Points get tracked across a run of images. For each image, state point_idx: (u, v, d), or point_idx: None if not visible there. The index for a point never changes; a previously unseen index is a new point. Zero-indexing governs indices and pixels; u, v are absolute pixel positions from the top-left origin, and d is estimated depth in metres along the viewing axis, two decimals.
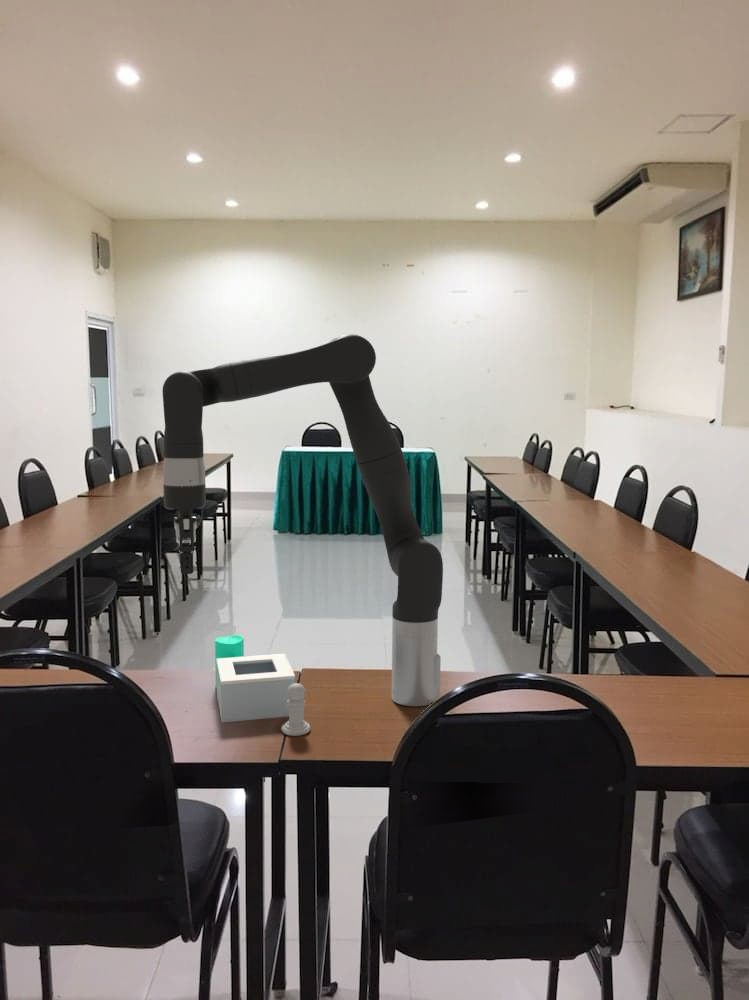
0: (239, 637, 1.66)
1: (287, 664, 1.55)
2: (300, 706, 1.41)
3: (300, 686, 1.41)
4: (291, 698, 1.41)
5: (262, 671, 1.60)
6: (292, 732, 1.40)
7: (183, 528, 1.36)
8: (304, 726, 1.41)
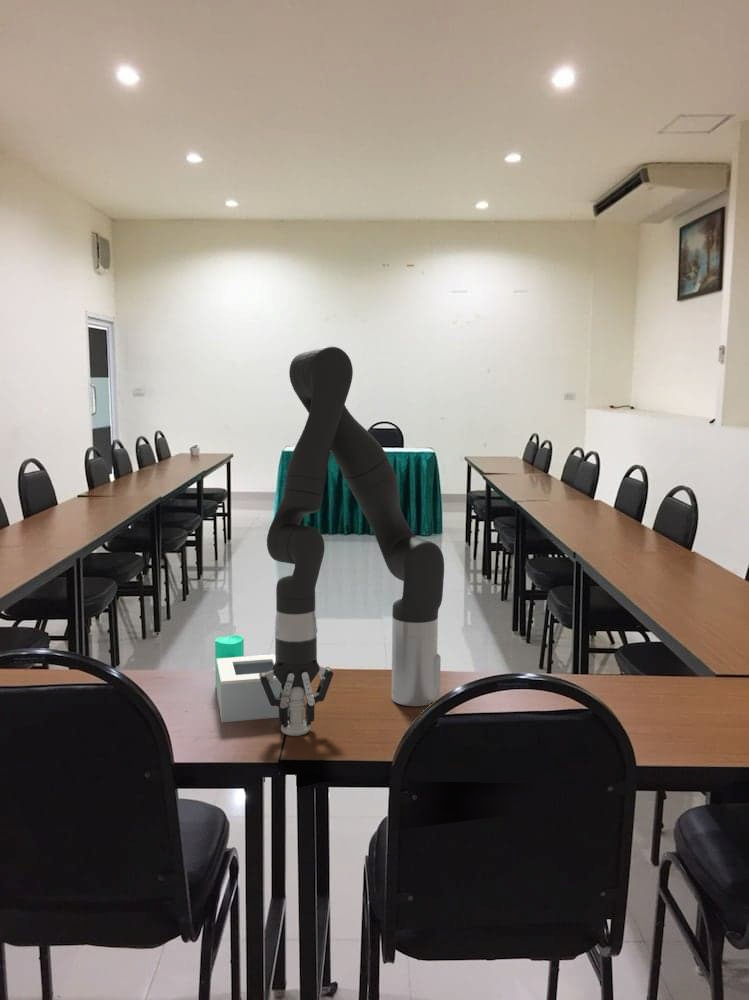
0: (239, 637, 1.66)
1: None
2: (300, 706, 1.41)
3: None
4: (291, 698, 1.41)
5: (262, 671, 1.60)
6: (292, 732, 1.40)
7: None
8: (304, 726, 1.41)
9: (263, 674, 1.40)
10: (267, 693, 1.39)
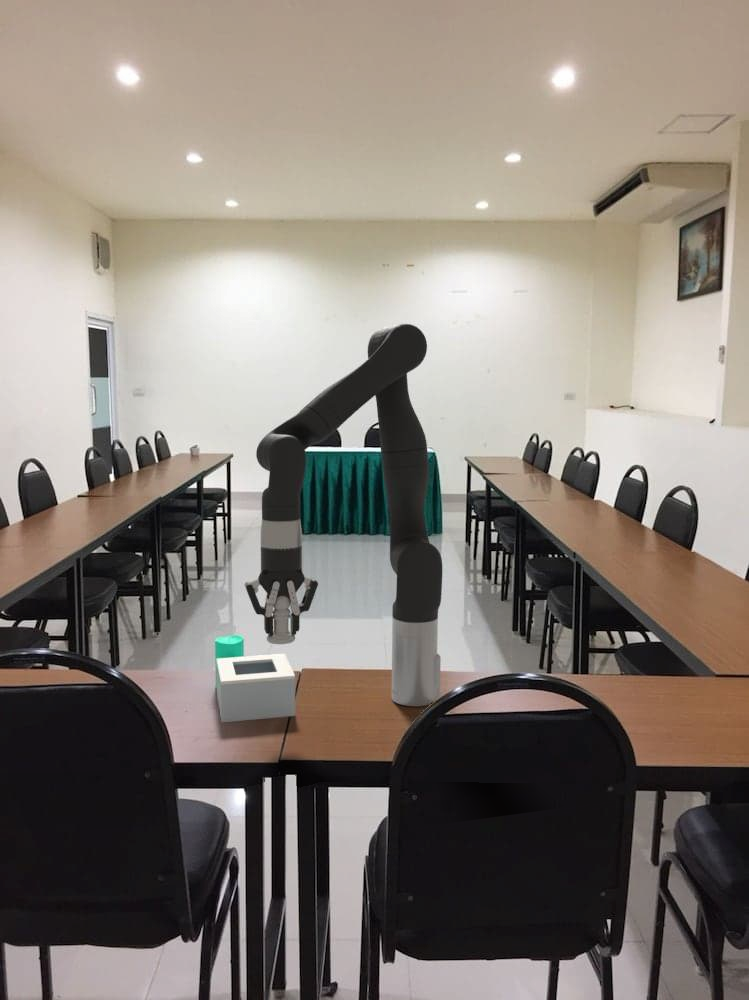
0: (239, 637, 1.66)
1: (287, 664, 1.55)
2: (285, 615, 1.42)
3: None
4: (276, 607, 1.42)
5: (262, 671, 1.60)
6: (277, 640, 1.42)
7: None
8: (289, 635, 1.43)
9: (249, 583, 1.41)
10: (253, 601, 1.41)
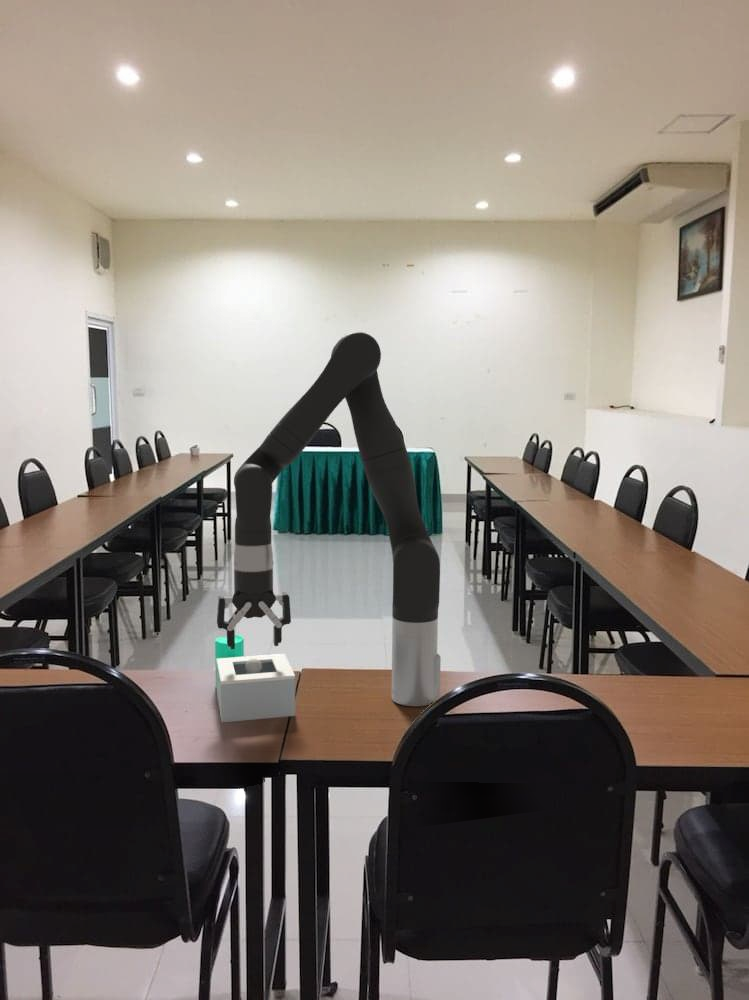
0: (239, 637, 1.66)
1: (287, 664, 1.55)
2: None
3: (257, 661, 1.53)
4: (248, 672, 1.52)
5: (262, 671, 1.60)
6: None
7: None
8: None
9: (223, 597, 1.50)
10: (219, 614, 1.50)
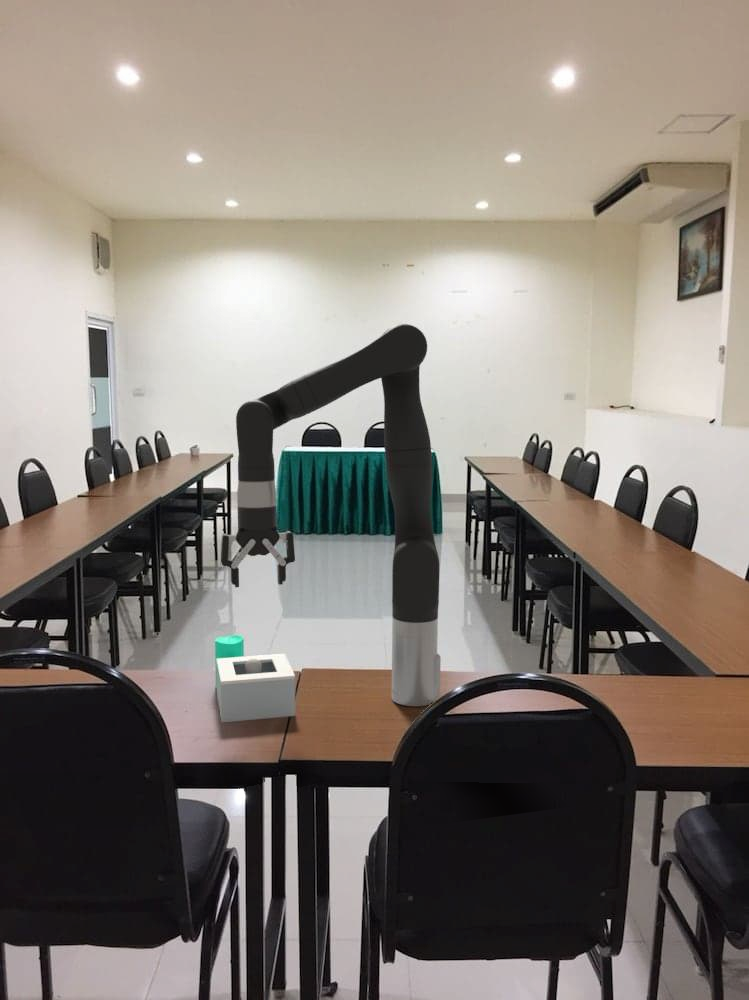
0: (239, 637, 1.66)
1: (287, 664, 1.55)
2: None
3: (257, 661, 1.53)
4: (248, 672, 1.52)
5: (262, 671, 1.60)
6: None
7: None
8: None
9: (226, 534, 1.50)
10: (223, 552, 1.49)
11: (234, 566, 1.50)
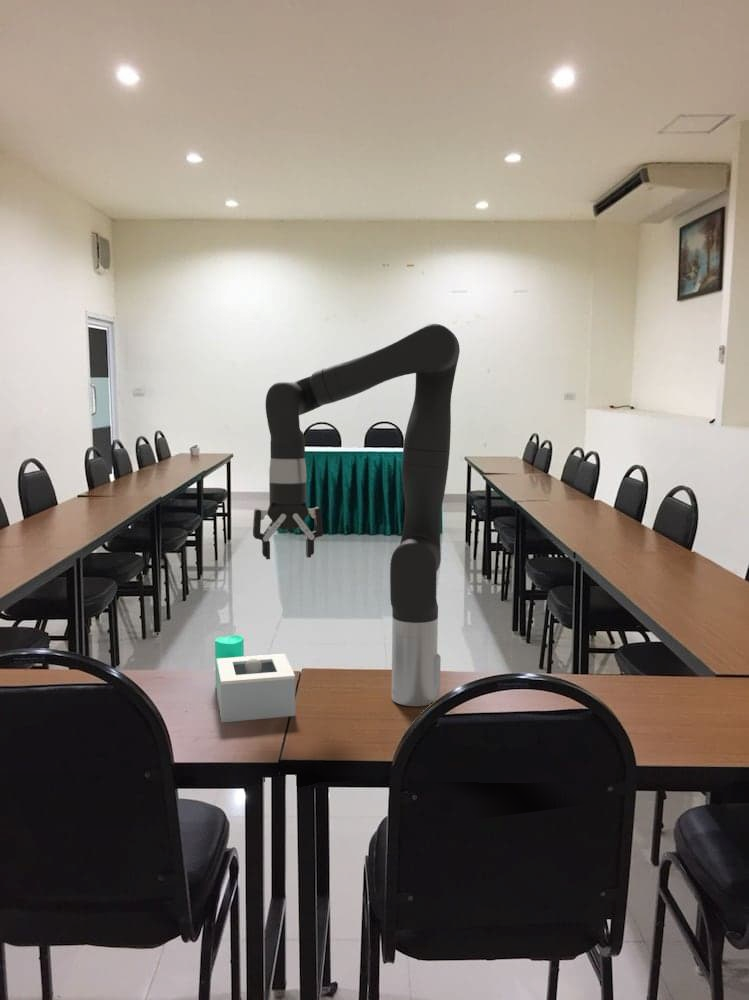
0: (239, 637, 1.66)
1: (287, 664, 1.55)
2: None
3: (257, 661, 1.53)
4: (248, 672, 1.52)
5: (262, 671, 1.60)
6: None
7: None
8: None
9: (259, 509, 1.58)
10: (255, 525, 1.57)
11: (266, 539, 1.58)
